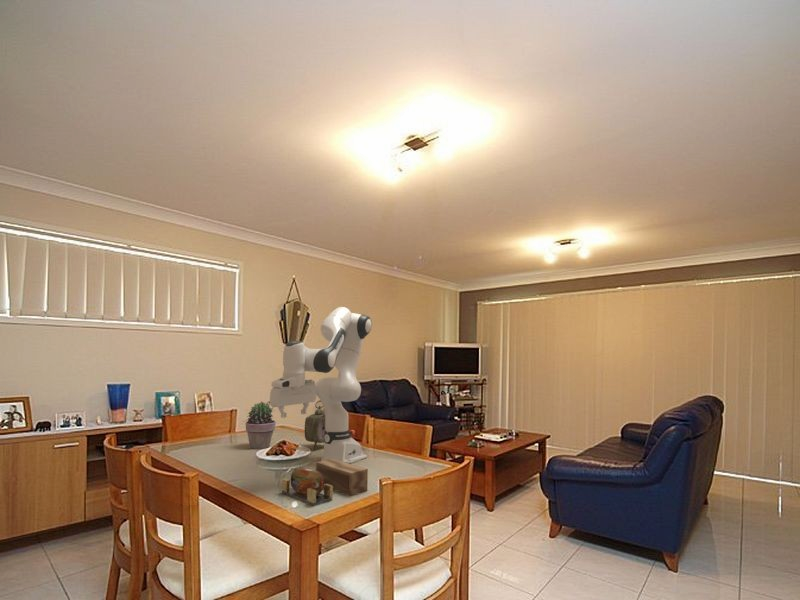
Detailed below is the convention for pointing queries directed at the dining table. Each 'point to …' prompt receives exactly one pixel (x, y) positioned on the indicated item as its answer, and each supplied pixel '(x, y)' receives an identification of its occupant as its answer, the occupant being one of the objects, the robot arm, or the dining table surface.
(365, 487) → the brown wooden block
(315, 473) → the brown curved piece
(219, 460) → the dining table surface
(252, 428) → the potted plant
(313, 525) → the dining table surface
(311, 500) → the grey pegged base
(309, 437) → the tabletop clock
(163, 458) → the dining table surface
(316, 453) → the dining table surface
